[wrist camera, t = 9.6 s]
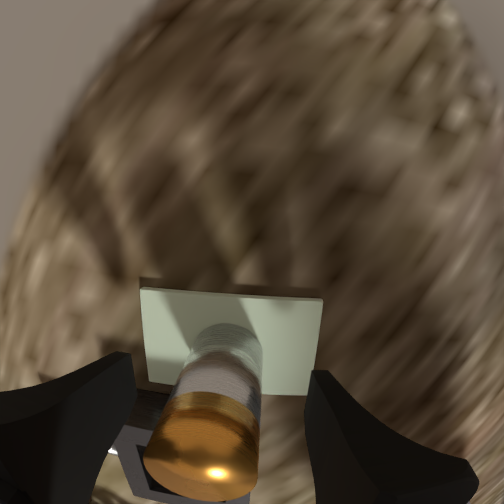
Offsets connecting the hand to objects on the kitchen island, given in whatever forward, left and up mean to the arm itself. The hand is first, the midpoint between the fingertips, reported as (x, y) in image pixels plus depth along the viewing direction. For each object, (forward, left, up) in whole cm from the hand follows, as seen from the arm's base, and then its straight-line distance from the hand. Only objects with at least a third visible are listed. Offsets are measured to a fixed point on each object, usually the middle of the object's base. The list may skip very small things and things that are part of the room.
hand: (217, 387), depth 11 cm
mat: (0, 0, -3) cm, 3 cm away
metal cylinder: (0, 0, -3) cm, 3 cm away
